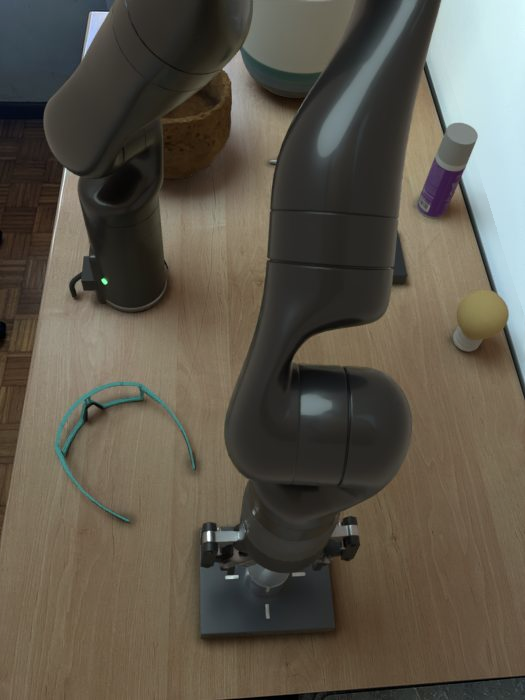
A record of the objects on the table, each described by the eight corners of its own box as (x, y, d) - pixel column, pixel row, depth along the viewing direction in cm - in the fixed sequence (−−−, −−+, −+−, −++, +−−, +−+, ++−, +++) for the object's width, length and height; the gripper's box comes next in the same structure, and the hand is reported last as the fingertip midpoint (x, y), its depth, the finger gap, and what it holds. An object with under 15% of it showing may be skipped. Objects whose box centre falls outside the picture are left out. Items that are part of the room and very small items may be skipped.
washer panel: (200, 638, 70) (200, 634, 68) (199, 535, 76) (199, 527, 73) (330, 631, 72) (335, 627, 69) (320, 530, 77) (324, 522, 75)
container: (444, 222, 104) (478, 147, 91) (415, 216, 104) (444, 141, 91) (446, 200, 106) (479, 125, 94) (417, 194, 107) (446, 119, 94)
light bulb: (459, 368, 90) (486, 328, 82) (433, 332, 93) (455, 290, 84) (496, 351, 92) (526, 311, 83) (469, 316, 95) (495, 274, 86)
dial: (245, 598, 70) (248, 587, 65) (244, 555, 72) (246, 543, 68) (287, 596, 70) (292, 585, 66) (284, 554, 73) (289, 541, 68)
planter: (350, 124, 114) (377, 5, 96) (232, 117, 113) (237, -6, 95) (344, 50, 125) (367, -70, 106) (236, 43, 124) (240, -80, 105)
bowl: (130, 111, 112) (120, 29, 99) (240, 131, 111) (244, 51, 99) (96, 191, 102) (80, 111, 89) (216, 213, 102) (217, 136, 89)
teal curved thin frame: (133, 376, 86) (131, 359, 81) (207, 462, 82) (210, 449, 78) (39, 442, 80) (32, 428, 76) (114, 537, 77) (111, 528, 72)
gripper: (370, 464, 55) (338, 522, 69) (197, 470, 54) (200, 528, 68) (384, 556, 51) (347, 598, 65) (198, 565, 50) (201, 605, 64)
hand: (272, 562), depth 66 cm, fingers open, 8 cm apart
